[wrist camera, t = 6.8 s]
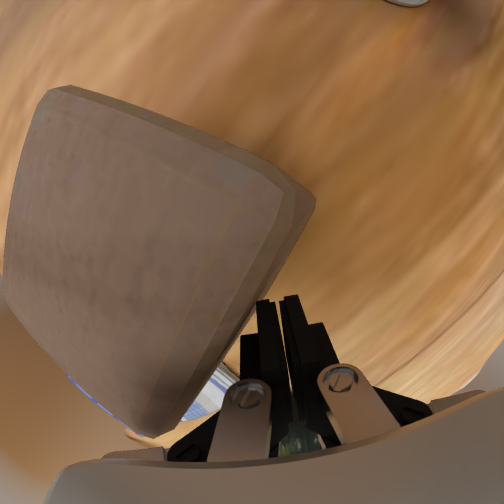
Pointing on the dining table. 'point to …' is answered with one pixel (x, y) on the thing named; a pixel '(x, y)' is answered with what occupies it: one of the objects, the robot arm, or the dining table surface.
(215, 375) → the dish towel
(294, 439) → the squash
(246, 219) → the wooden block
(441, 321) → the dining table surface
